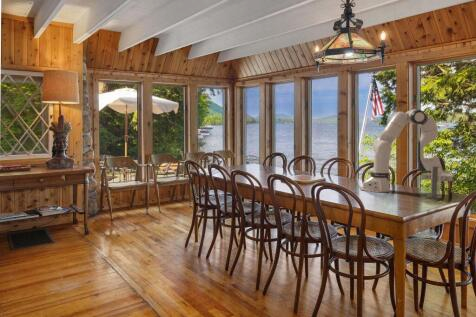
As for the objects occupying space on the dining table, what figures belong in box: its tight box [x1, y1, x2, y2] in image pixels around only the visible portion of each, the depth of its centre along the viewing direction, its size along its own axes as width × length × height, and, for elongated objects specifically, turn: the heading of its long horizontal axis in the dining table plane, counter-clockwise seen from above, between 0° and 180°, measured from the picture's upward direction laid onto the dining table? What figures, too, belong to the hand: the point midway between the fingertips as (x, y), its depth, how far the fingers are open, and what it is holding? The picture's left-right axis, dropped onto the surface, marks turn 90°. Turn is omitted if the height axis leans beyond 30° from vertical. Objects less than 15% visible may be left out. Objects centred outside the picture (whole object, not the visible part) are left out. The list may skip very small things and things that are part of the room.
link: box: [430, 168, 442, 190], centre depth 270 cm, size 6×5×14 cm
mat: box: [418, 192, 432, 197], centre depth 276 cm, size 8×8×1 cm
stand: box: [426, 166, 443, 200], centre depth 264 cm, size 9×11×22 cm
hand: (435, 178), depth 270 cm, fingers closed on link, 6 cm apart
